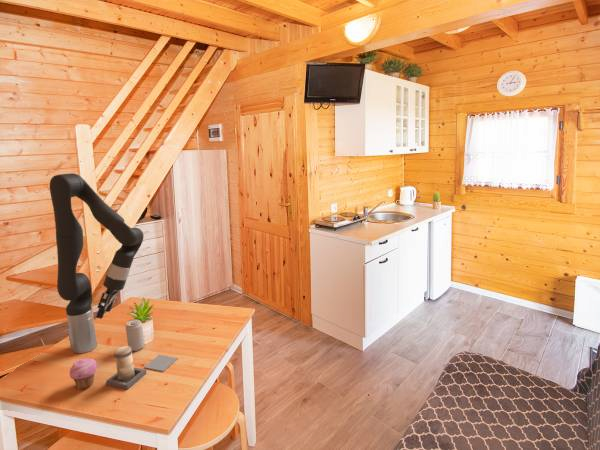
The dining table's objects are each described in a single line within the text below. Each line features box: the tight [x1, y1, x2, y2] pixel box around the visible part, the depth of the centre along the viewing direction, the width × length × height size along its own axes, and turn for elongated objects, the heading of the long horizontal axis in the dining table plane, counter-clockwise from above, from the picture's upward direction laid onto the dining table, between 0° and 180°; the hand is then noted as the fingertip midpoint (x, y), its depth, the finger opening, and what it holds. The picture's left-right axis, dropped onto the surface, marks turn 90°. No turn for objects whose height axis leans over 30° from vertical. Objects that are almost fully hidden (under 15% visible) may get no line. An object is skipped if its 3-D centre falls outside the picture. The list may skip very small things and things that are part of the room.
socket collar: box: [105, 367, 147, 390], centre depth 137 cm, size 10×10×2 cm
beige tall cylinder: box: [113, 345, 136, 383], centre depth 136 cm, size 6×6×12 cm
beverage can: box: [125, 319, 145, 352], centre depth 158 cm, size 6×6×12 cm
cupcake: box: [69, 358, 98, 390], centre depth 134 cm, size 9×9×10 cm
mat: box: [143, 354, 178, 373], centre depth 147 cm, size 9×9×1 cm
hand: (103, 314), depth 145 cm, fingers open, 8 cm apart
